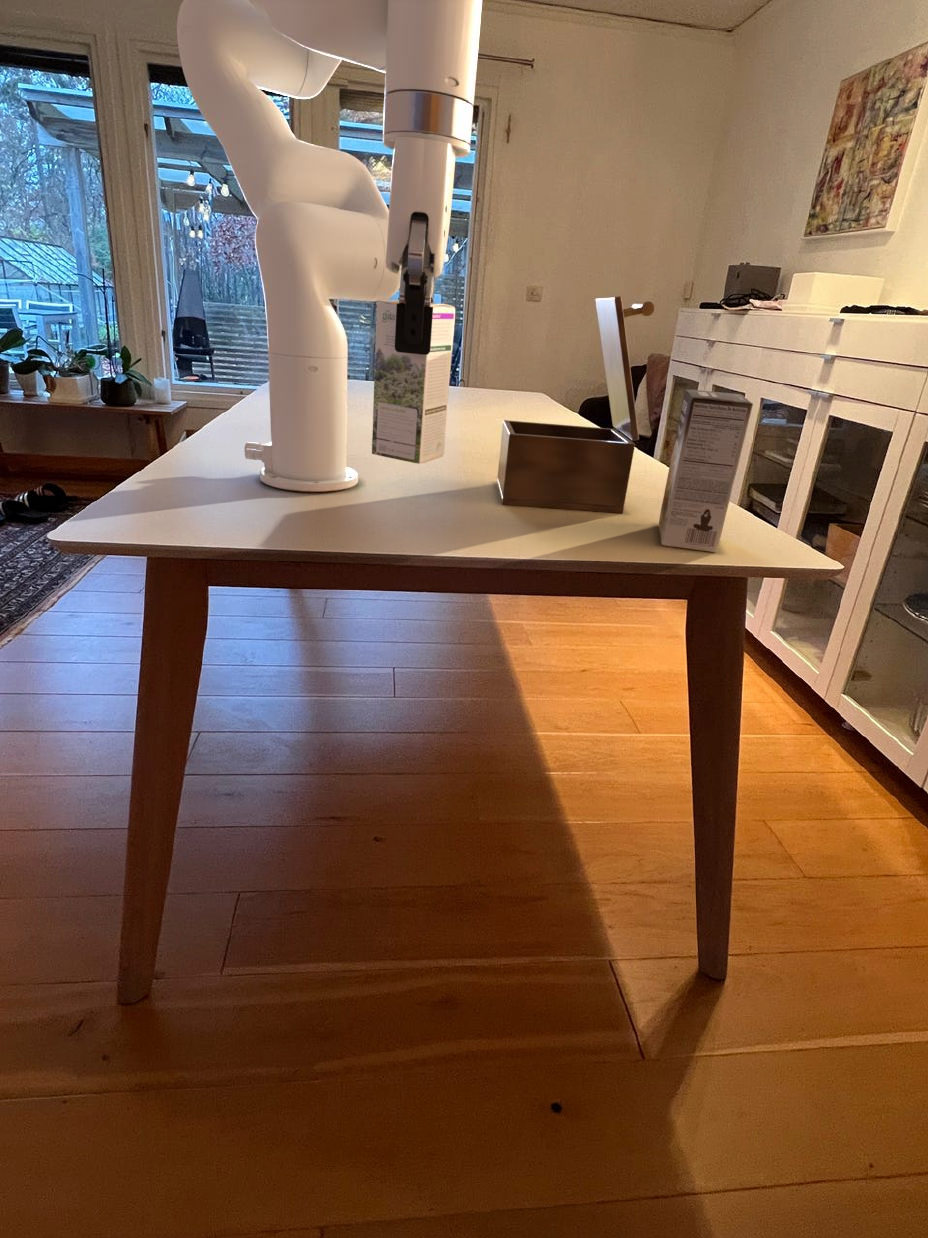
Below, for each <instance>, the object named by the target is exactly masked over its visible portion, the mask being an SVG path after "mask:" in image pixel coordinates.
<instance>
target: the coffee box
mask: <svg viewBox="0 0 928 1238" xmlns="http://www.w3.org/2000/svg"><path fill="white" fill-rule="evenodd" d="M683 392H684V393H683V396H682V397H683V398H682V403H681V407H680V413H679V416H678V417H679V418H678V423H677V428H676V433H675V438H674V442H673V448H672V453H671V457H670V463H669V467H668V468H669V469H668V472H667V478H666V483H665V488H664V491H663V498H662V501H661V502H662V503H661V508H660V513H659V519H658V528H659V535H660V543H661V546H665V547H673V548H680V549H686V550H687V549H688V550H696V551H702V552H710V553H717V552H718V549H719V545H720V540H721V536H722V532H723V529H724V525H725V520H726V517H727V512H728V507H729V504H730V501H731V495H732V492H733V487H734V484H735V479H736V475H737V472H738V468H739V465H740V464H739V463H740V461H741V456H742V451H743V448H744V443H745V439H746V436H747V432H748V428H749V424H750V419H751V415H752V411H753V408H754V403H753V402H751V401H750V400H749V399H748V398H747V397H745V396H744V395H743V394H741V393H729V392H720V391H711V390H700V389H684V391H683Z"/></svg>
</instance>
